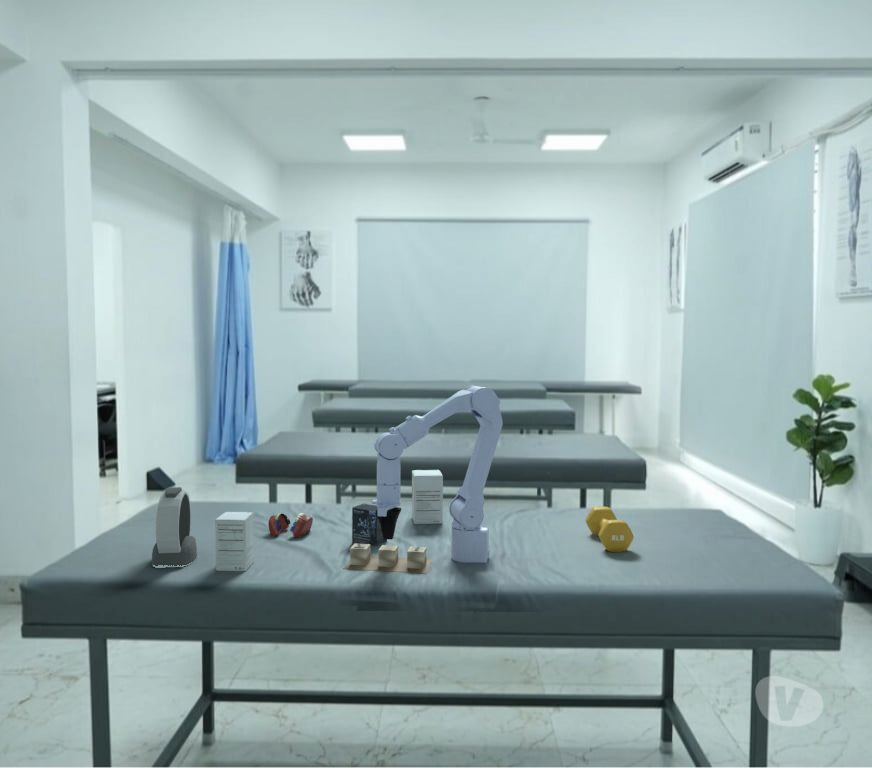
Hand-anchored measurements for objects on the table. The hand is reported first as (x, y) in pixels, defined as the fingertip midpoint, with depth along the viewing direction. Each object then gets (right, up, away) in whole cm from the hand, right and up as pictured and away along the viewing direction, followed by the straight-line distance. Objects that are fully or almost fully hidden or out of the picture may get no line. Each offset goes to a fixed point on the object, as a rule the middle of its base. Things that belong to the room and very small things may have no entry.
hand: (388, 538), depth 164 cm
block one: (+7, -6, -1) cm, 9 cm away
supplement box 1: (-37, -7, +1) cm, 38 cm away
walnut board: (0, -7, +1) cm, 7 cm away
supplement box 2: (+9, -5, +45) cm, 46 cm away
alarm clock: (-54, -7, +6) cm, 55 cm away
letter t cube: (-7, -6, +1) cm, 9 cm away
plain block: (0, -6, 0) cm, 6 cm away
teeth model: (-30, -6, +30) cm, 43 cm away
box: (-6, -6, +19) cm, 21 cm away
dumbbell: (+59, -7, +23) cm, 64 cm away
